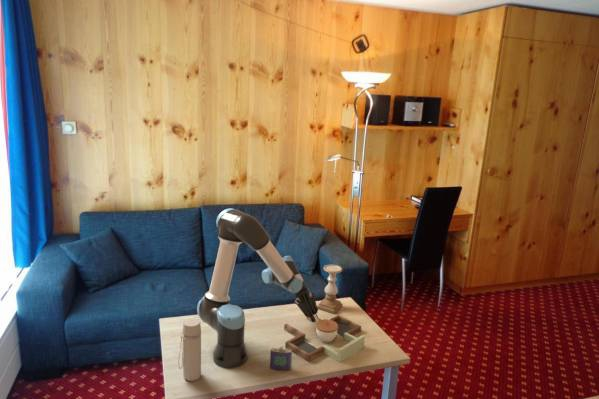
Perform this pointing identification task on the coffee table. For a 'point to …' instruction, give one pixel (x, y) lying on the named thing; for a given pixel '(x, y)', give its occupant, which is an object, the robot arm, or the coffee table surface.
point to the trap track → (311, 352)
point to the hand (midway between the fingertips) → (319, 327)
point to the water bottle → (191, 349)
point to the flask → (280, 359)
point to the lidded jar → (326, 330)
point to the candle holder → (331, 291)
